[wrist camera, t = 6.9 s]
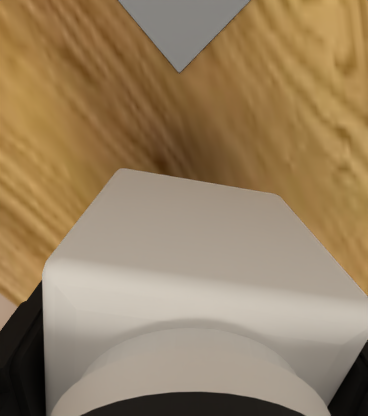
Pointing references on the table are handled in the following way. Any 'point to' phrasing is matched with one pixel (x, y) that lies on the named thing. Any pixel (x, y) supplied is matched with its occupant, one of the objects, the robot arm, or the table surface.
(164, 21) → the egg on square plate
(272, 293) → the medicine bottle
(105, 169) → the table surface
